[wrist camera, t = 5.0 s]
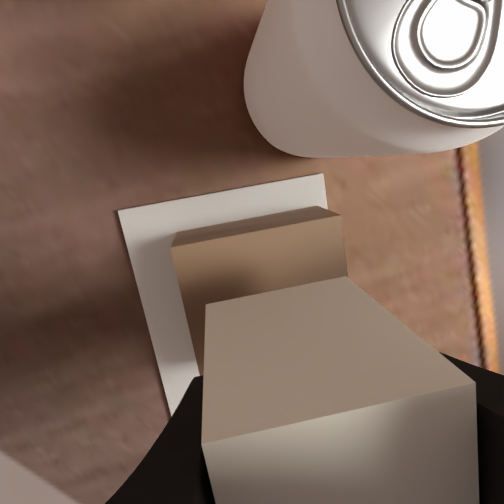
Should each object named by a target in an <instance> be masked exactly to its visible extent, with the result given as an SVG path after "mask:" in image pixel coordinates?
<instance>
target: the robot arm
mask: <svg viewBox="0 0 504 504" xmlns="http://www.w3.org/2000/svg"><path fill="white" fill-rule="evenodd" d="M439 353H440V354H442V355H443V356H444V357H445V358H447V359H448V360H449V361H450V362H451V363H453V364H454V365H455V366H456V367H457V368H459V369H460V370H461V371H462V372H464V373H465V374H466V375H467V376H468V377H470V378H471V379H472V380H473V381H475V382H476V409H477V443H478V476H479V504H504V375H501V374H498V373H495V372H492V371H489V370H486V369H483V368H480V367H477V366H474V365H472V364H469V363H466V362H464V361H461V360H458V359H456V358H453V357H451V356H448V355H446V354H443V353H441V352H439ZM203 376H204V375H202V376H197V377H194V378H193V379H192V381H191V382H190V384H189V386H188V388H187V390H186V392H185V394H184V396H183V398H182V399H181V401H180V403H179V405H178V406H177V408H176V410H175V412H174V413H173V415H172V417H171V418H170V420H169V422H168V423H167V425H166V427H165V428H164V430H163V431H162V433H161V434H160V436H159V437H158V439H157V440H156V442H155V443H154V444H153V446H152V447H151V449H150V450H149V452H148V453H147V455H146V456H145V457H144V459H143V460H142V461H141V463H140V464H139V465H138V467H137V468H136V469H135V470H134V472H133V473H132V474H131V475H130V476H129V478H128V479H127V480H126V481H125V482H124V484H123V485H122V486H121V487H120V488H119V489H118V491H117V492H116V493H115V494H114V495H113V496H112V497H111V498H110V499H109V500H108V501H107V502H106V503H105V504H216V503H215V499H214V494H213V490H212V486H211V482H210V478H209V474H208V470H207V466H206V462H205V457H204V453H203V449H202V445H201V439H202V408H203Z"/></svg>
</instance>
